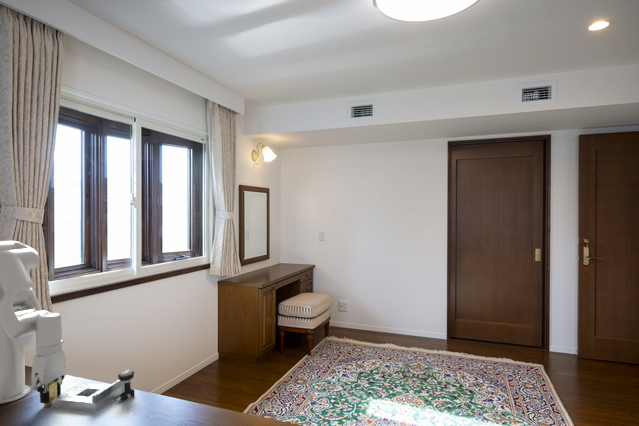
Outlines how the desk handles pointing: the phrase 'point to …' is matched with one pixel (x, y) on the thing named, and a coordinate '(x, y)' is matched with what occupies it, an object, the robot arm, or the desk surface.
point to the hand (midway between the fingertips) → (50, 399)
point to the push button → (126, 385)
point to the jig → (79, 396)
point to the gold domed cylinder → (51, 393)
